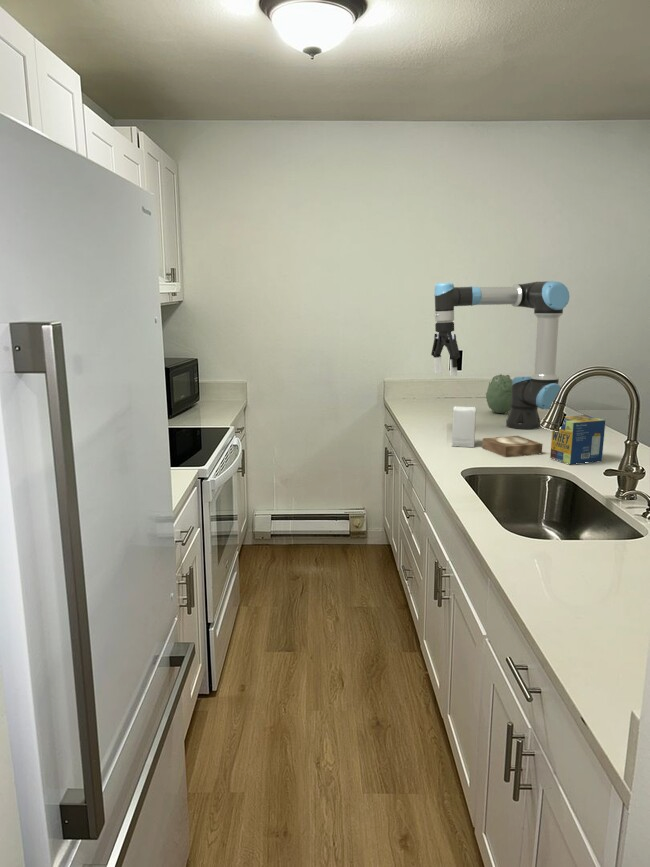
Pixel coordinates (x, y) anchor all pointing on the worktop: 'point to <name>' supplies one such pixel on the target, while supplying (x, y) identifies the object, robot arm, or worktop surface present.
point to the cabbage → (500, 394)
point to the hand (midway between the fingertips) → (445, 374)
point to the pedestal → (512, 446)
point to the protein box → (578, 440)
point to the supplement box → (463, 426)
